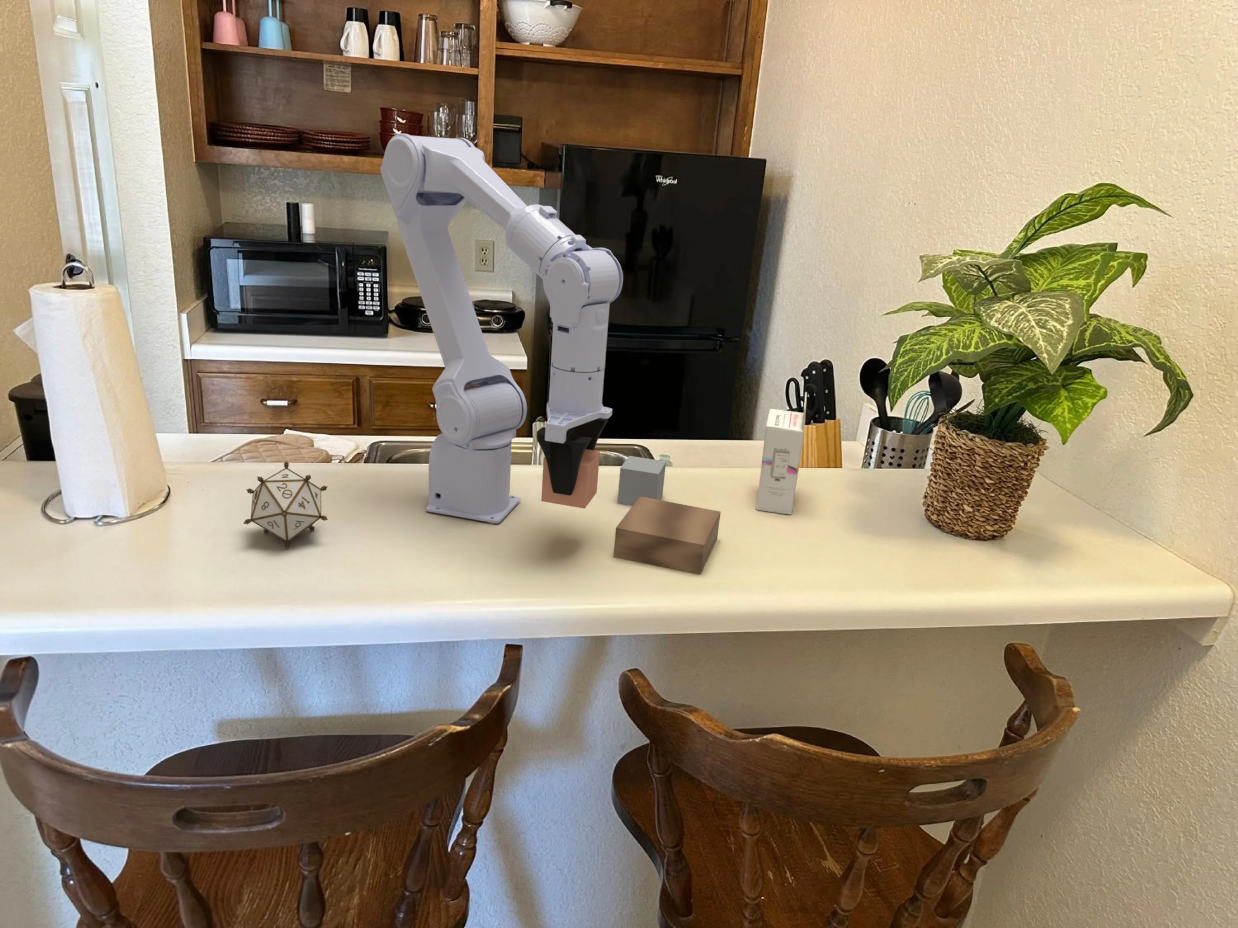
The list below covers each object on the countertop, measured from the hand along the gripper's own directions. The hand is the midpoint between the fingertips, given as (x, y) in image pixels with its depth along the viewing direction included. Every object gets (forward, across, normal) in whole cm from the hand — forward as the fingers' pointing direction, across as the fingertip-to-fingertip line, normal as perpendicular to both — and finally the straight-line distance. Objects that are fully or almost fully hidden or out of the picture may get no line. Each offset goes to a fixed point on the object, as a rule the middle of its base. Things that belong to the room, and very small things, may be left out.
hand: (569, 484), depth 98 cm
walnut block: (+8, +4, -11) cm, 14 cm away
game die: (+8, -10, +29) cm, 32 cm away
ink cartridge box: (+8, +24, -22) cm, 34 cm away
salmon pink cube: (+2, 0, 0) cm, 2 cm away
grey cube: (+8, +17, -5) cm, 19 cm away
